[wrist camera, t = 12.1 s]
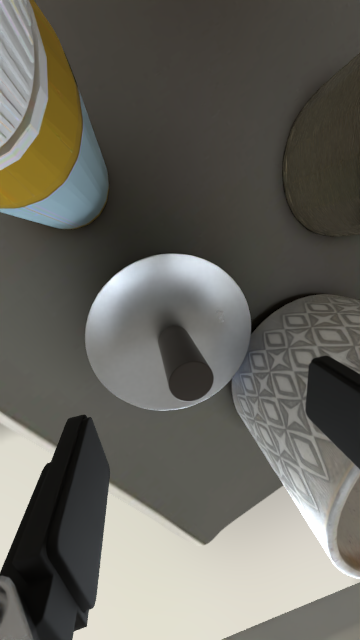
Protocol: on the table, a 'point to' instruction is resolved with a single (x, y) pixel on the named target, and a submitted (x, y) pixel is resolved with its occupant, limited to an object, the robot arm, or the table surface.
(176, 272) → the lid
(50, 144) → the bottle
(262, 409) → the planter
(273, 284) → the table surface
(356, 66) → the pot
